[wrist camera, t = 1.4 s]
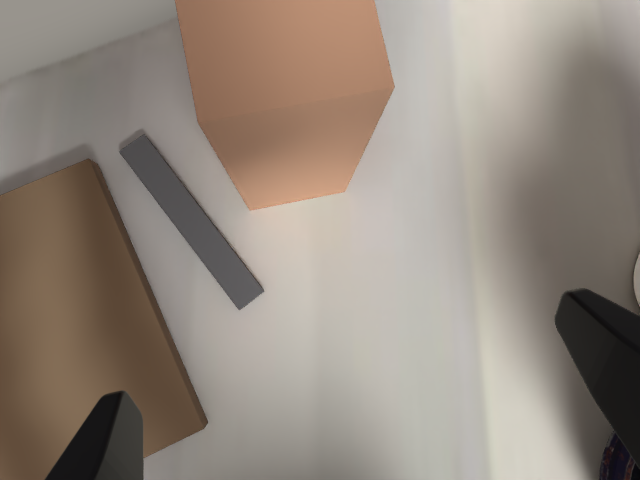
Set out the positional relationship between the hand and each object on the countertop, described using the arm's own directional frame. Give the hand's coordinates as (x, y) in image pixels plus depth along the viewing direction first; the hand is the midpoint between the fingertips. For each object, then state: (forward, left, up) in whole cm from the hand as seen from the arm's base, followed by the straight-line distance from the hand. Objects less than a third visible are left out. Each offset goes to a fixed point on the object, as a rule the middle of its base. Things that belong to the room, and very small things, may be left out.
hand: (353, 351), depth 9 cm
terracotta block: (+4, -8, -13) cm, 16 cm away
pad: (+14, +5, -13) cm, 20 cm away
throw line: (+7, -3, -13) cm, 16 cm away
